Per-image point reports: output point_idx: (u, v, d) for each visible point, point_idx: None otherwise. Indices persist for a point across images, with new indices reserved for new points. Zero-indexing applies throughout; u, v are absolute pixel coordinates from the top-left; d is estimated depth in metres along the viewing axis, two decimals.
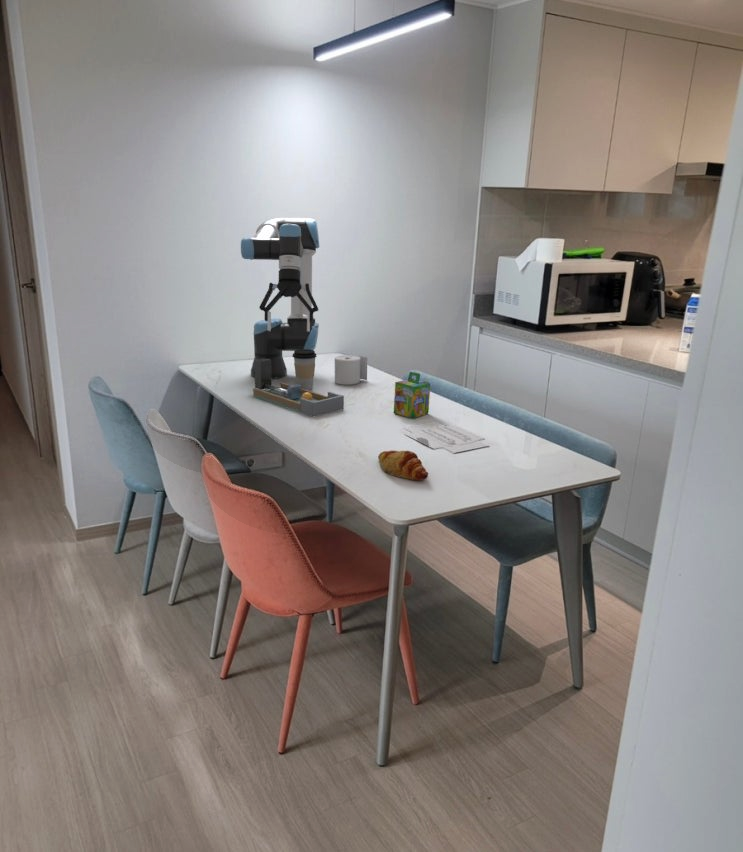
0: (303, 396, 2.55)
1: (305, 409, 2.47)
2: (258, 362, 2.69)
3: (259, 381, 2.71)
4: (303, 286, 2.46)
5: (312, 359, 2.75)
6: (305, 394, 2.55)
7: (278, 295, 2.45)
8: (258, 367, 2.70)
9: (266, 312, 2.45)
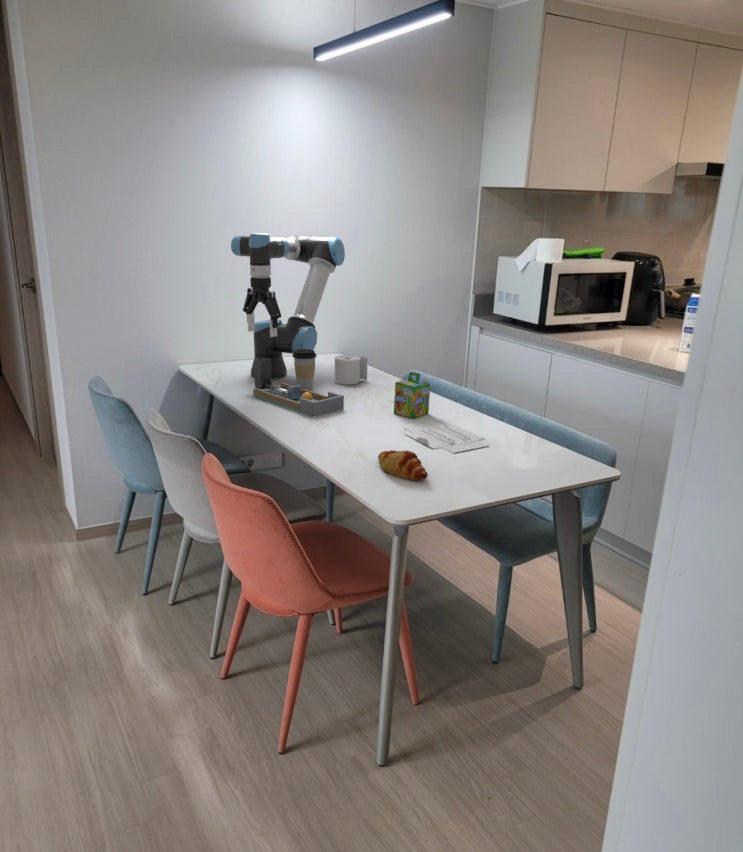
0: (303, 396, 2.55)
1: (305, 409, 2.47)
2: (258, 362, 2.69)
3: (259, 381, 2.71)
4: None
5: (312, 359, 2.75)
6: (305, 394, 2.55)
7: (252, 301, 2.66)
8: (258, 367, 2.70)
9: None
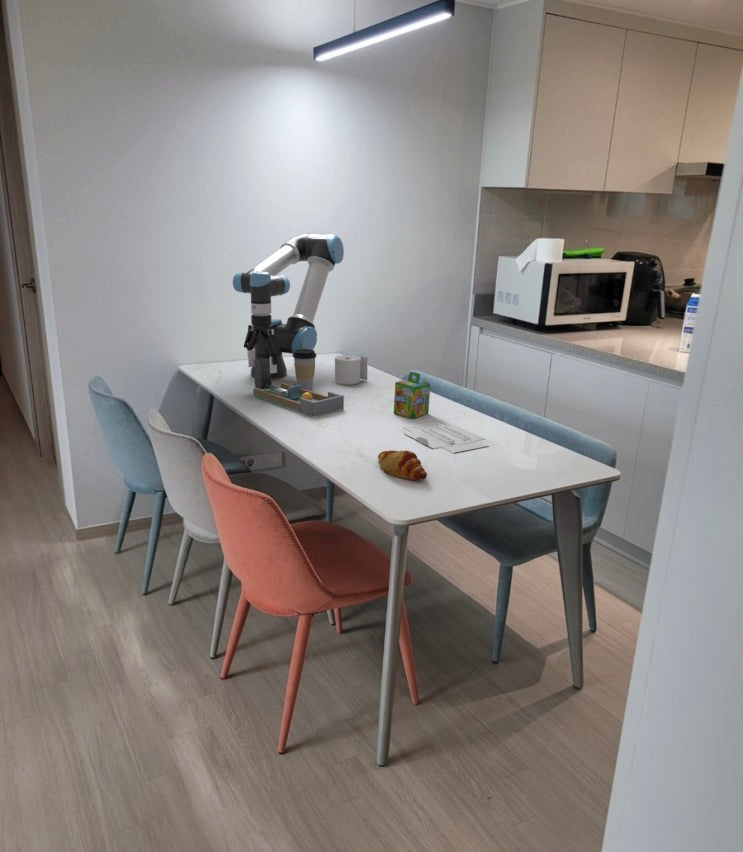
0: (303, 396, 2.55)
1: (305, 409, 2.47)
2: (258, 362, 2.69)
3: (259, 381, 2.71)
4: None
5: (312, 359, 2.75)
6: (305, 394, 2.55)
7: (252, 337, 2.70)
8: (258, 367, 2.70)
9: (248, 350, 2.75)
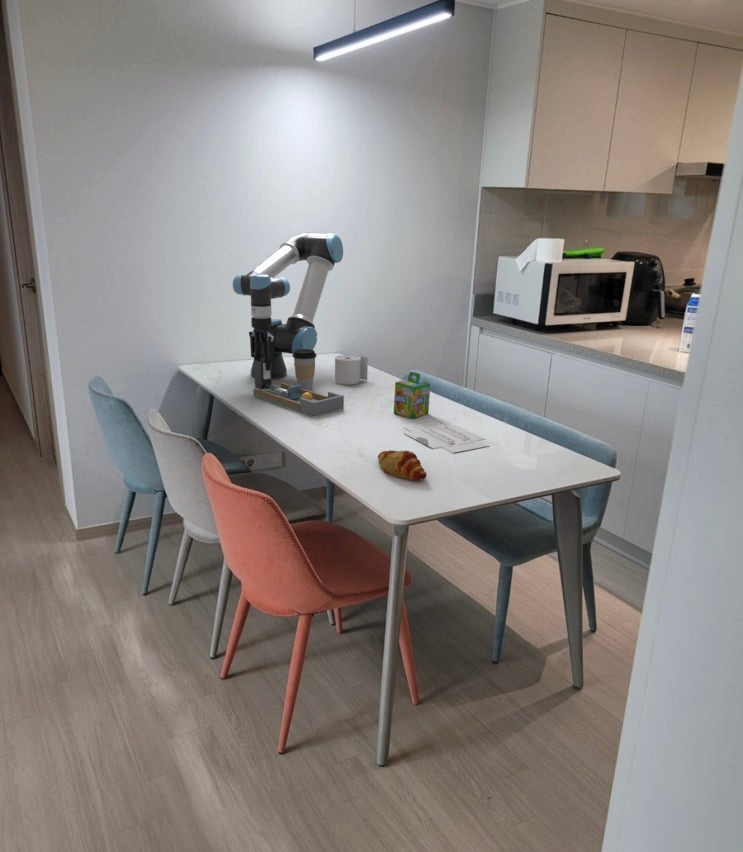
0: (303, 396, 2.55)
1: (305, 409, 2.47)
2: (258, 362, 2.69)
3: (259, 381, 2.71)
4: (268, 336, 2.65)
5: (312, 359, 2.75)
6: (305, 394, 2.55)
7: (255, 342, 2.69)
8: (258, 367, 2.70)
9: None
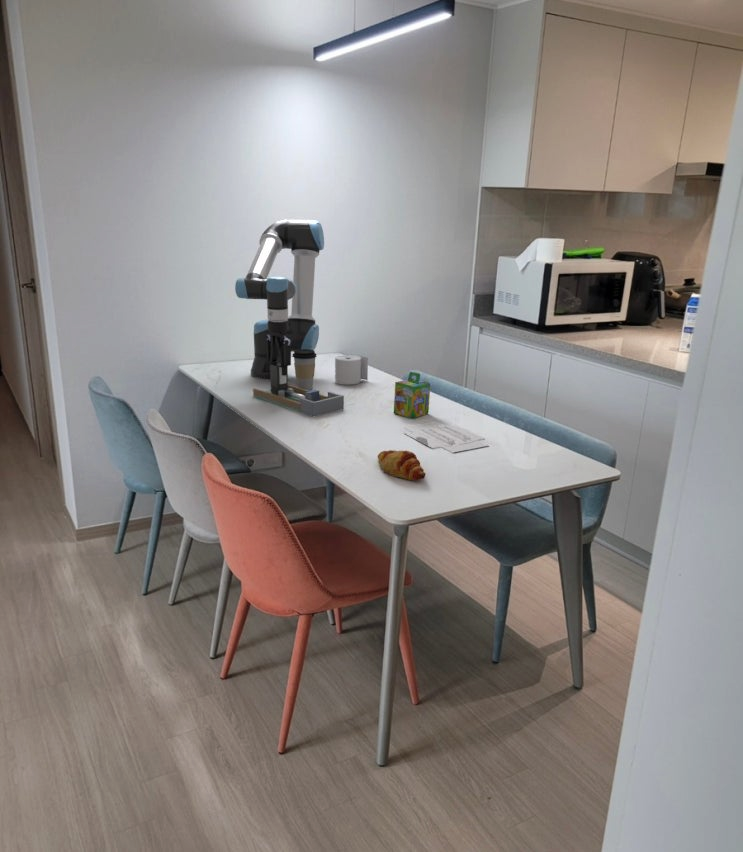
0: None
1: (305, 409, 2.47)
2: (274, 367, 2.62)
3: (275, 386, 2.65)
4: None
5: (312, 359, 2.75)
6: None
7: (271, 346, 2.63)
8: (274, 371, 2.63)
9: None
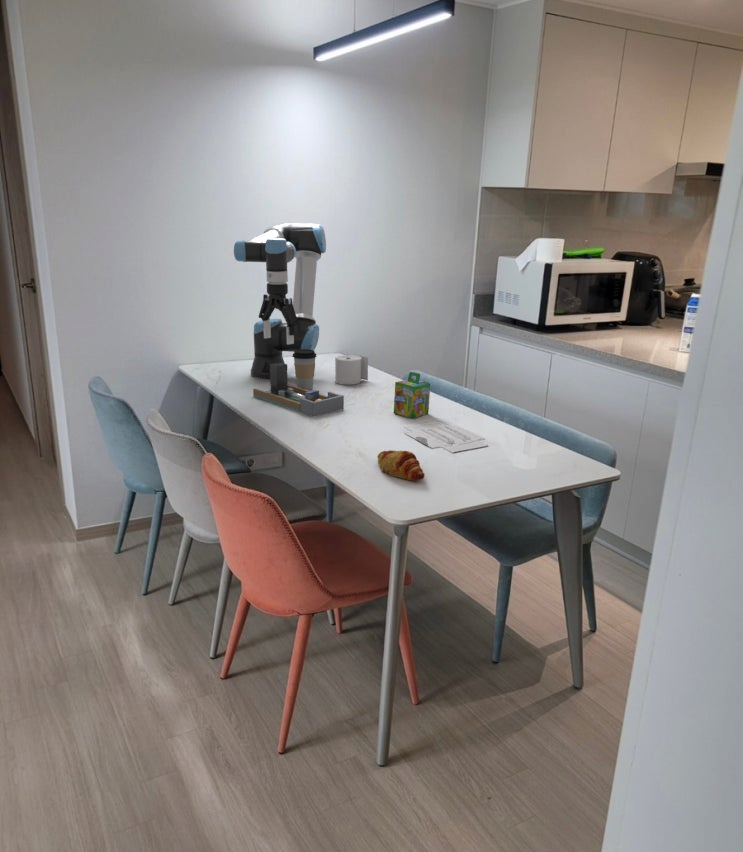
0: None
1: (305, 409, 2.47)
2: (274, 367, 2.63)
3: (275, 386, 2.65)
4: (285, 300, 2.54)
5: (312, 359, 2.75)
6: None
7: (268, 307, 2.60)
8: (274, 371, 2.63)
9: (263, 321, 2.65)
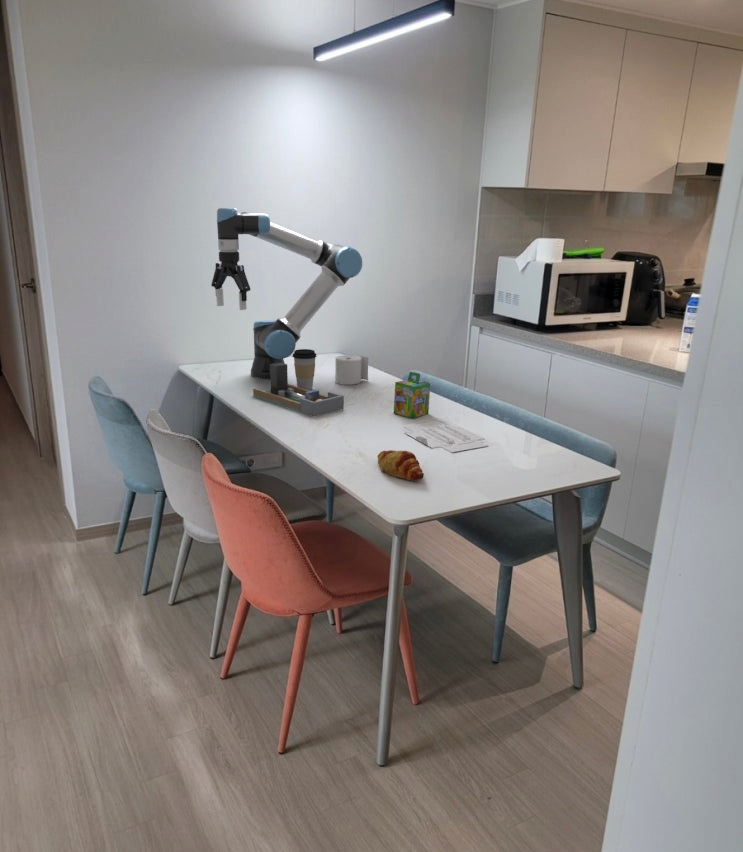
0: None
1: (305, 409, 2.47)
2: (274, 367, 2.63)
3: (275, 386, 2.65)
4: (237, 267, 2.65)
5: (312, 359, 2.75)
6: None
7: (220, 275, 2.70)
8: (274, 371, 2.63)
9: (216, 289, 2.75)
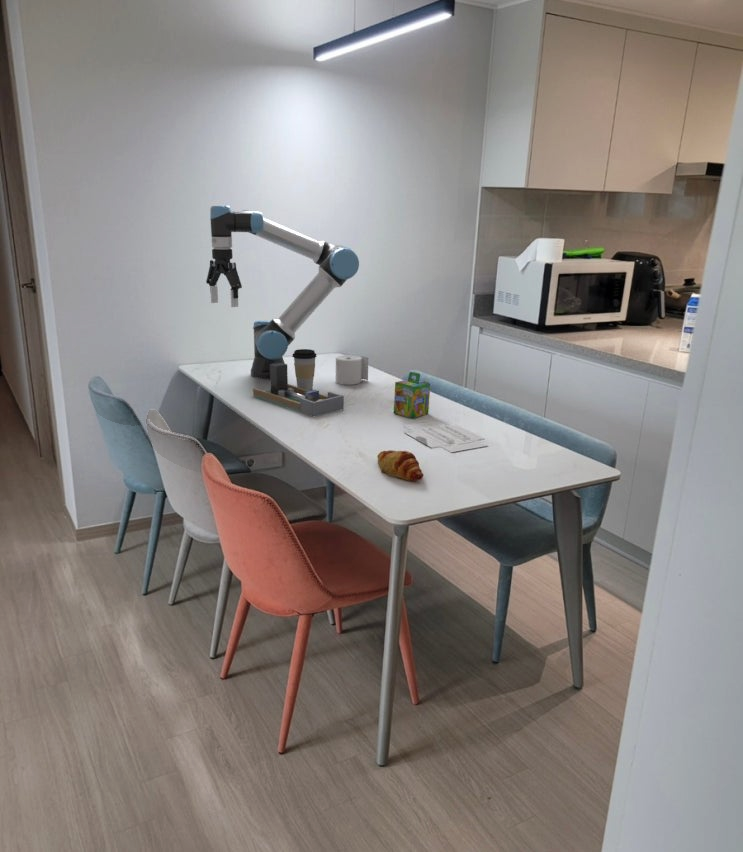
0: None
1: (305, 409, 2.47)
2: (274, 367, 2.63)
3: (275, 386, 2.65)
4: (229, 265, 2.66)
5: (312, 359, 2.75)
6: None
7: (214, 272, 2.72)
8: (274, 371, 2.63)
9: None
